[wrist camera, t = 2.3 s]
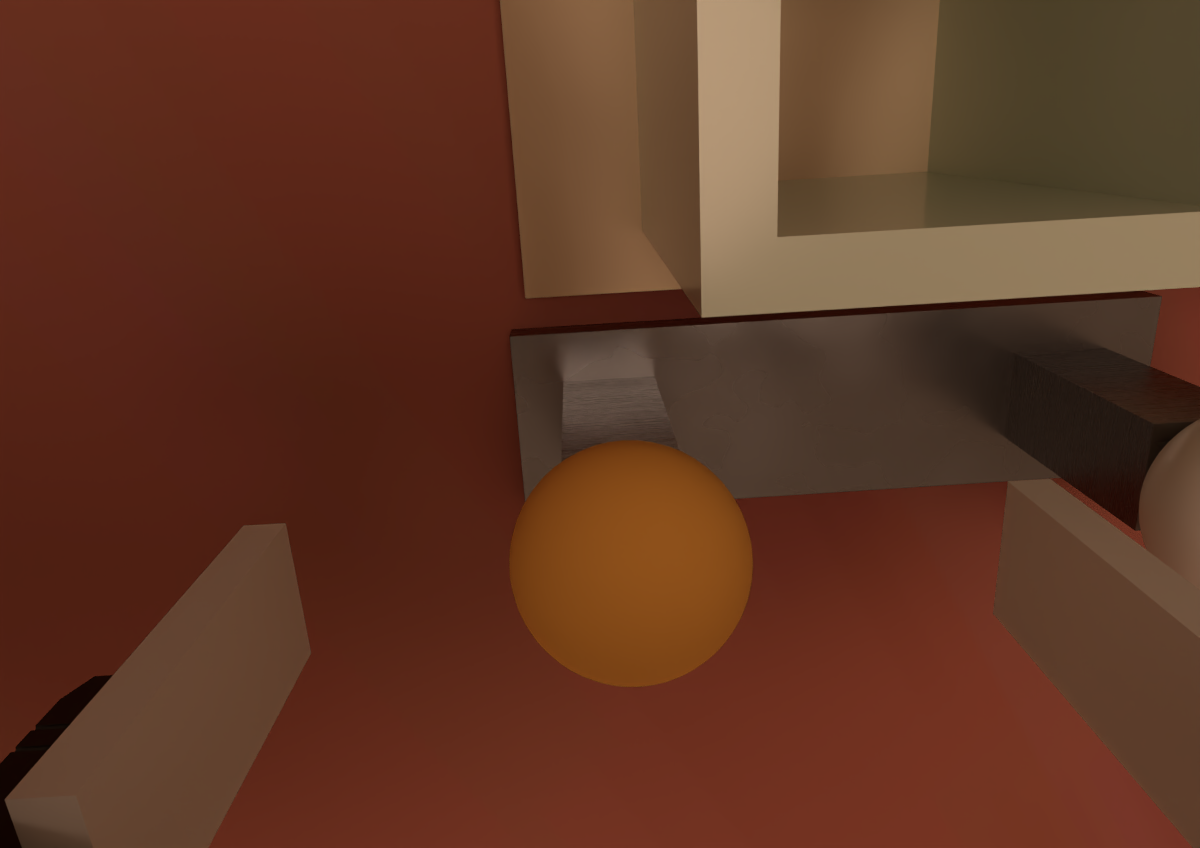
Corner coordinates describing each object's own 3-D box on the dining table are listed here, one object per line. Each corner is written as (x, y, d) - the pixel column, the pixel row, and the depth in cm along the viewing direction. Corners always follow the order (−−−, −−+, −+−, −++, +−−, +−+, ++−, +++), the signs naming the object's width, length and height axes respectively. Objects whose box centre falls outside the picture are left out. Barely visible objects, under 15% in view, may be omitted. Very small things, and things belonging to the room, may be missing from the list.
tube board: (527, 290, 22) (525, 299, 21) (485, -208, 18) (479, -230, 17) (1500, 231, 22) (1549, 237, 21) (1650, -270, 19) (1720, -296, 18)
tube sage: (642, 230, 21) (701, 317, 11) (627, -150, 18) (690, -455, 9) (964, 211, 21) (1292, 281, 11) (997, -170, 18) (1463, -493, 9)
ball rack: (527, 499, 24) (513, 624, 18) (511, 329, 22) (490, 403, 16) (1114, 462, 24) (1294, 573, 18) (1142, 290, 23) (1350, 350, 17)
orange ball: (526, 607, 18) (512, 751, 14) (507, 415, 17) (486, 510, 12) (729, 594, 18) (776, 733, 14) (728, 401, 17) (781, 492, 12)
